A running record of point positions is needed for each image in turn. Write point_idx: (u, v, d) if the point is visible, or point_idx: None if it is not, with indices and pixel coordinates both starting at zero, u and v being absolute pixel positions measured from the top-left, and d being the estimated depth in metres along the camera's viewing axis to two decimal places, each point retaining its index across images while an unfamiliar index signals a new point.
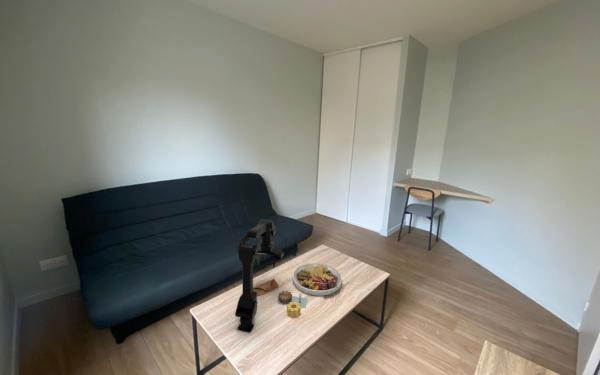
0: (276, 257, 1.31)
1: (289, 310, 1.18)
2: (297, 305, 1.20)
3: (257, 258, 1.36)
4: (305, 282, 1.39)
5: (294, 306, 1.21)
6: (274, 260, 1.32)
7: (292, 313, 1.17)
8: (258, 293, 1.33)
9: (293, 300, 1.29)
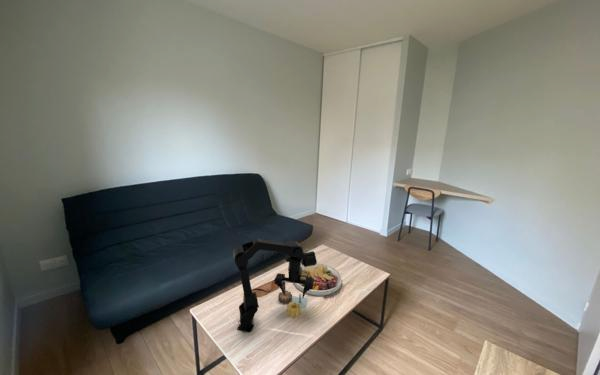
0: (307, 287, 1.13)
1: (289, 310, 1.18)
2: (297, 305, 1.20)
3: (284, 287, 1.17)
4: None
5: (294, 306, 1.21)
6: (304, 290, 1.14)
7: (292, 313, 1.17)
8: (259, 294, 1.33)
9: (293, 300, 1.29)
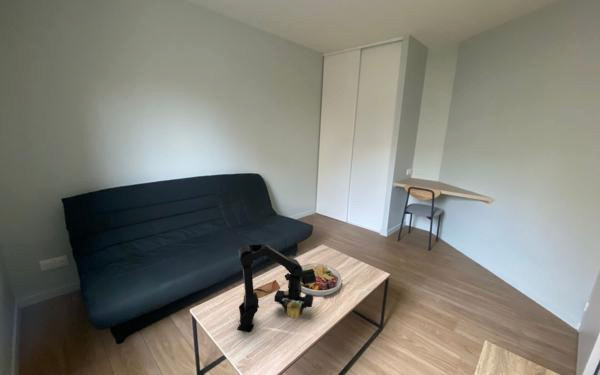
0: (306, 305, 1.15)
1: (289, 310, 1.18)
2: (297, 305, 1.20)
3: (285, 304, 1.19)
4: None
5: (294, 306, 1.21)
6: (301, 307, 1.16)
7: (292, 313, 1.17)
8: (259, 294, 1.32)
9: None
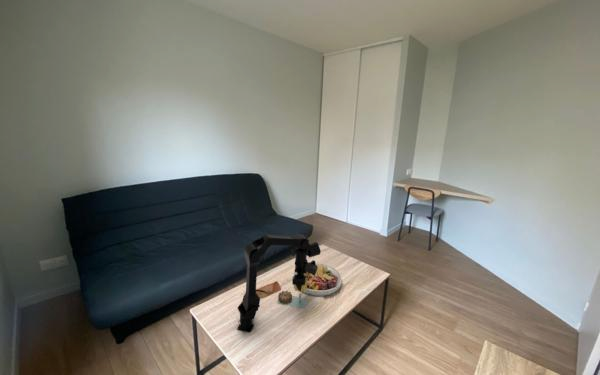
0: None
1: None
2: None
3: None
4: None
5: None
6: None
7: None
8: (260, 295, 1.32)
9: (293, 300, 1.29)
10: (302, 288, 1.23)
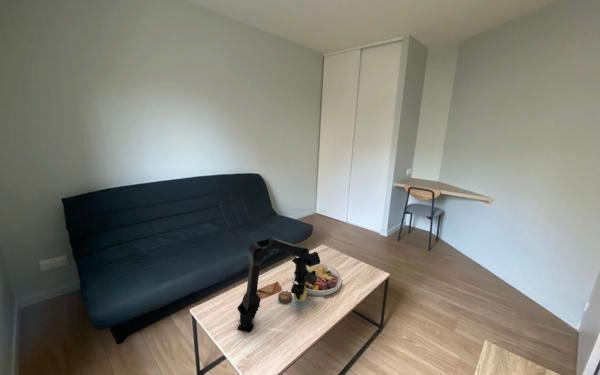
0: (291, 288, 1.20)
1: None
2: None
3: None
4: None
5: None
6: None
7: None
8: (260, 296, 1.31)
9: (293, 300, 1.29)
10: (301, 297, 1.25)
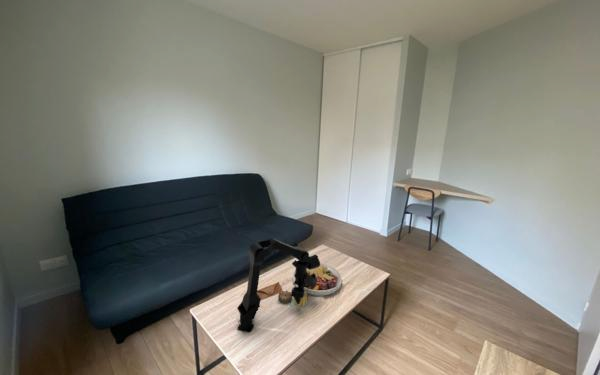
0: (291, 291, 1.20)
1: None
2: None
3: None
4: None
5: None
6: None
7: None
8: (261, 297, 1.31)
9: (293, 300, 1.29)
10: (301, 302, 1.26)
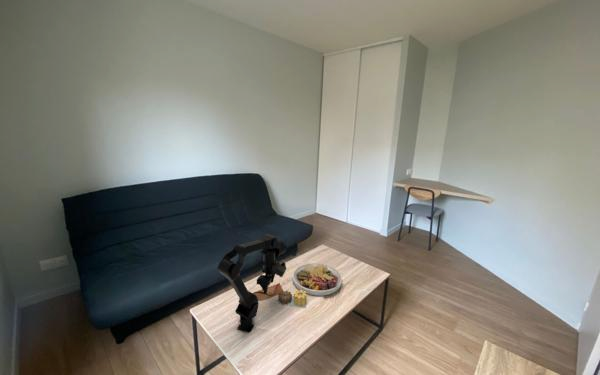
0: None
1: (296, 292, 1.29)
2: (301, 296, 1.25)
3: None
4: (305, 282, 1.39)
5: None
6: None
7: None
8: (261, 297, 1.30)
9: (293, 300, 1.29)
10: (301, 302, 1.26)
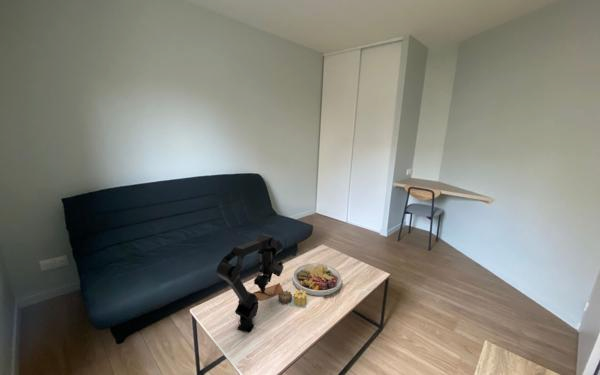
0: None
1: (296, 292, 1.29)
2: (301, 296, 1.25)
3: None
4: (305, 282, 1.39)
5: None
6: None
7: None
8: (261, 297, 1.30)
9: (293, 300, 1.29)
10: (301, 302, 1.26)
